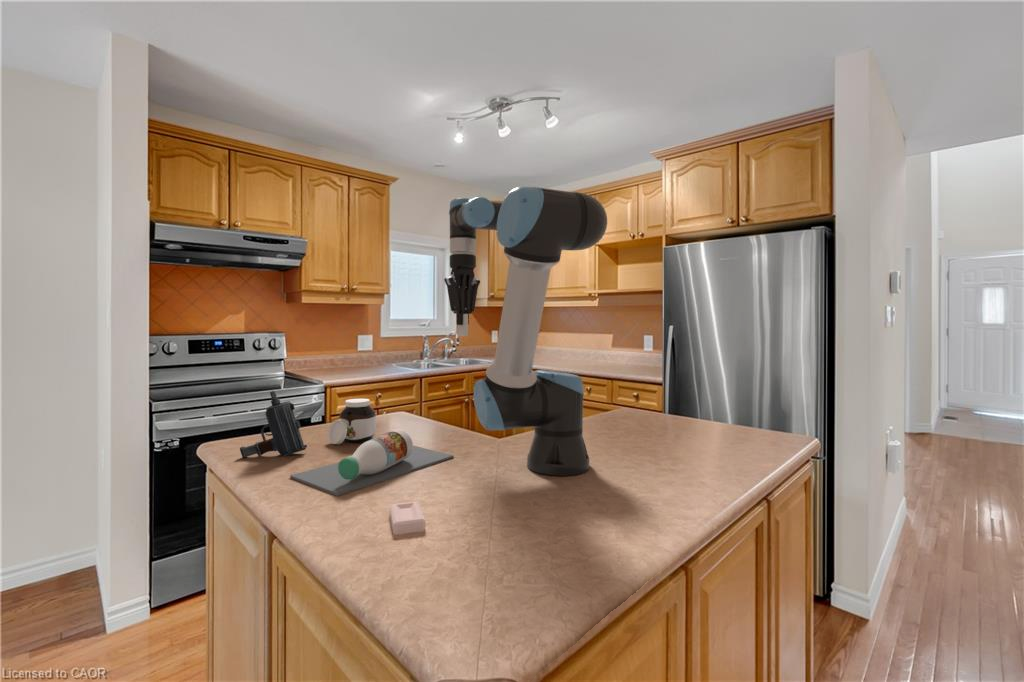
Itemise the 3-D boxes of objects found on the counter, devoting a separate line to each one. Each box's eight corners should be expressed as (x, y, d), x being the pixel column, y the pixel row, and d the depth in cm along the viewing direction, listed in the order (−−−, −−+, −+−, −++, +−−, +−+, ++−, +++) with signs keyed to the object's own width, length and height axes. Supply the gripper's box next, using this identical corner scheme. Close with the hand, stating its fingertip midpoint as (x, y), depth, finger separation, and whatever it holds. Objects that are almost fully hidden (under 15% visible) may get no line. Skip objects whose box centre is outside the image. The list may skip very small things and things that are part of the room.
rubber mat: (406, 445, 139) (406, 443, 139) (453, 457, 128) (453, 455, 128) (290, 477, 112) (290, 475, 112) (337, 496, 101) (337, 493, 101)
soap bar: (418, 512, 94) (418, 500, 94) (425, 533, 86) (425, 519, 86) (389, 516, 93) (389, 503, 92) (393, 537, 84) (393, 523, 84)
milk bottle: (410, 463, 124) (356, 492, 105) (385, 452, 126) (328, 479, 108) (416, 434, 122) (363, 459, 104) (391, 424, 125) (334, 446, 106)
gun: (227, 403, 127) (288, 386, 130) (248, 465, 129) (307, 446, 132) (224, 405, 124) (287, 388, 128) (245, 468, 126) (306, 449, 130)
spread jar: (380, 437, 148) (379, 398, 148) (362, 447, 137) (361, 405, 137) (342, 435, 151) (342, 397, 150) (322, 445, 139) (321, 404, 139)
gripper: (468, 257, 151) (468, 335, 152) (437, 253, 141) (437, 336, 142) (487, 255, 146) (487, 336, 148) (456, 251, 136) (456, 337, 137)
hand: (462, 336), depth 145 cm, fingers closed
